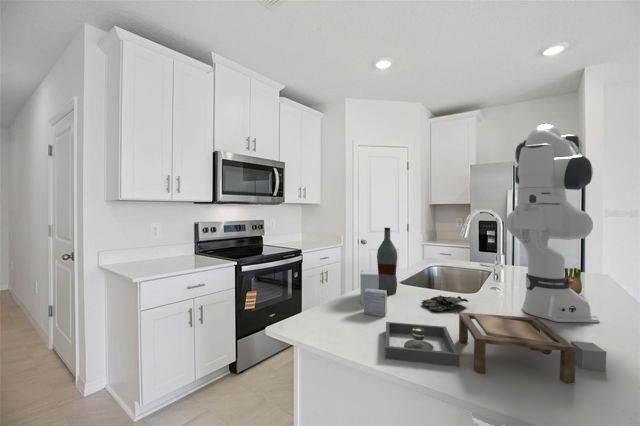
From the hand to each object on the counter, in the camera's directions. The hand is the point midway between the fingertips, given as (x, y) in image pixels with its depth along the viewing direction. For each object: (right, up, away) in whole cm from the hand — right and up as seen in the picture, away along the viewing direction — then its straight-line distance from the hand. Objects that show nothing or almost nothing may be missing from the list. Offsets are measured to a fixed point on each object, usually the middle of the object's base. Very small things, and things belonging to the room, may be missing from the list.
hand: (534, 245), depth 90 cm
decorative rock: (-14, -28, +33) cm, 45 cm away
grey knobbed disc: (-35, -29, -3) cm, 45 cm away
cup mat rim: (-35, -29, -2) cm, 45 cm away
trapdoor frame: (-13, -29, -10) cm, 33 cm away
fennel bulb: (+53, -28, +50) cm, 77 cm away
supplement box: (-43, -28, +37) cm, 63 cm away
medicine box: (-42, -28, +24) cm, 56 cm away
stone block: (+5, -29, -12) cm, 32 cm away
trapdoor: (-13, -24, -10) cm, 29 cm away
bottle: (-32, -27, +51) cm, 66 cm away
